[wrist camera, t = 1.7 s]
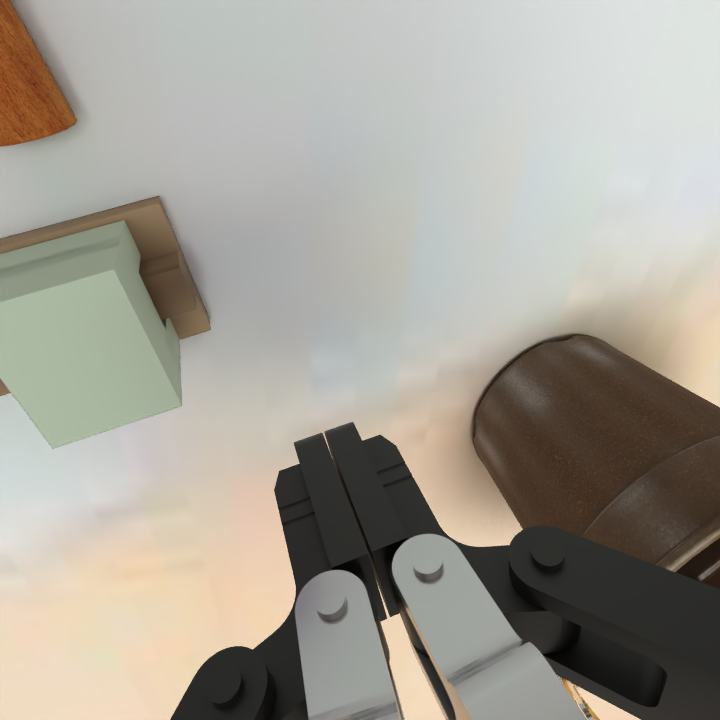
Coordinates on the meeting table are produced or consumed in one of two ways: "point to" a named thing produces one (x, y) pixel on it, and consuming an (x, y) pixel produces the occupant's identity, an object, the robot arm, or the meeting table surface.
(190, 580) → the meeting table surface
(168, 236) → the rail
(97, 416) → the keeper
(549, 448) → the plant pot
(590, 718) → the ring
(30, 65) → the kendama
